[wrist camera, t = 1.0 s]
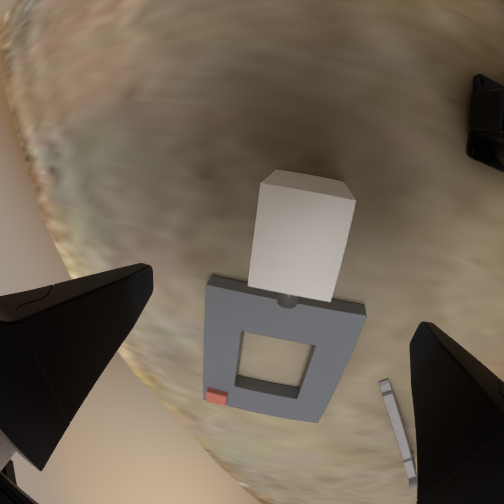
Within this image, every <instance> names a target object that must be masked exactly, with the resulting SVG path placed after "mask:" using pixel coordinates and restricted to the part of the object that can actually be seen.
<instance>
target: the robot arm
mask: <svg viewBox="0 0 504 504" xmlns="http://www.w3.org/2000/svg"><path fill="white" fill-rule="evenodd" d="M479 78H480V79H481V81H482V83H480V81H479ZM469 128H470V131H469V139H468V146H467V154H468V156H469V157H470V158H471V159H474V160H476V161H479V162H481V163H483V164H486V165H488V166H490V167H493V168H495V169H497V170H499V171H501V172H503V173H504V86H502V85H500V84H498V83H497V82H495V81H493V80H491V79H489V78H488V77H486V76H484V75H482V74H477V75H475V76H474V83H473V94H472V95H471V108H470V118H469ZM473 149H474V150H475V154H474V155H473V154H472V150H473ZM152 292H153V269H152V267H151V266H150V265H147V264H143V263H138V264H134V265H130V266H126V267H122V268H117V269H113V270H109V271H105V272H101V273H97V274H93V275H89V276H85V277H81V278H77V279H73V280H69V281H65V282H61V283H57V284H54V286H53V285H49V286H45V287H41V288H37V289H33V290H29V291H24V292H19V293H14V294H9V295H4V296H0V504H38V503H37V502H36V501H34V500H33V499H32V498H31V497H29V496H28V495H27V494H26V493H25V492H24V491H22V490H21V489H20V488H19V487H18V486H17V483H16V478H15V473H14V466H13V461H11V457H12V456H13V455H14V453H15V452H16V451H17V452H18V453H19V454H20V455H21V456H22V457H24V458H25V459H26V460H27V461H28V462H30V463H31V464H32V465H33V466H34V467H36V468H37V469H38V470H39V471H42V470H43V468H44V467H45V465H46V463H47V461H48V460H49V458H50V456H51V454H52V453H53V451H54V449H55V448H56V446H57V444H58V442H59V441H60V439H61V437H62V436H63V434H64V432H65V431H66V429H67V427H68V426H69V424H70V422H71V421H72V419H73V417H74V416H75V414H76V412H77V411H78V409H79V408H80V406H81V405H82V403H83V401H84V400H85V398H86V397H87V395H88V394H89V392H90V391H91V389H92V387H93V386H94V384H95V383H96V381H97V380H98V378H99V377H100V375H101V374H102V372H103V371H104V369H105V368H106V366H107V365H108V363H109V362H110V360H111V359H112V357H113V356H114V354H115V353H116V351H117V350H118V349H119V347H120V346H121V344H122V343H123V341H124V340H125V338H126V337H127V336H128V334H129V333H130V331H131V330H132V328H133V327H134V325H135V323H136V322H137V320H138V318H139V316H140V314H141V313H142V311H143V309H144V307H145V305H146V304H147V302H148V300H149V298H150V296H151V295H152ZM410 367H411V388H412V397H413V406H414V416H415V428H416V443H417V504H504V382H503V381H502V380H501V379H499V378H498V377H497V376H496V375H495V374H494V373H492V372H491V371H490V370H489V369H488V368H487V367H486V366H484V365H483V364H482V363H481V362H480V361H478V360H477V359H476V358H475V357H474V356H473V355H471V354H470V353H469V352H468V351H467V350H465V349H464V348H463V347H462V346H460V345H459V344H458V343H457V342H456V341H454V340H453V339H452V338H451V337H449V336H448V335H447V334H446V333H444V332H443V331H442V330H441V329H439V328H438V327H437V326H436V325H434V324H433V323H431V322H421V323H420V324H419V326H418V328H417V330H416V332H415V334H414V336H413V338H412V340H411V342H410Z"/></svg>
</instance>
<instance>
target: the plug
mask: <svg viewBox="0 0 504 504" xmlns="http://www.w3.org/2000/svg"><path fill="white" fill-rule="evenodd" d="M355 203H356V200H355V198H354V197H353V195H352V194H351V192H350V190H349V189H348V187H347V186H346V184H345V183H344V181H339V180H334V179H329V178H324V177H319V176H314V175H308V174H302V173H297V172H291V171H285V170H278V169H276V170H275V171H274V172H272V173H271V174H270V175H269V176H268V177H267V178H266V179H265V180H263V181H262V182H261V183H260V191H259V199H258V207H257V215H256V222H255V230H254V238H253V246H252V254H251V262H250V270H249V278H248V286H250V287H255V288H260V289H264V290H269V291H274V292H279V294H278V299H277V303H278V305H279V306H281V307H283V308H288V309H291V308H295V307H296V306H297V302H298V298H299V296H300V297H305V298H311V299H316V300H322V301H327V302H331V299H332V295H333V292H334V288H335V285H336V281H337V278H338V274H339V270H340V266H341V263H342V259H343V255H344V251H345V247H346V243H347V239H348V235H349V230H350V226H351V222H352V217H353V213H354V208H355Z"/></svg>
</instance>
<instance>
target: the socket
mask: <svg viewBox="0 0 504 504" xmlns="http://www.w3.org/2000/svg"><path fill="white" fill-rule="evenodd" d="M278 294H279V292H274V291H269V290H264V289H260V288H255V287H250V286H248V283H246V282H241V281H236V280H231V279H226V278H222V277H217V276H212V277H211V278H210V280H209V281H208V283H207V284H206V297H205V324H204V370H203V399H204V400H206V401H208V402H212V403H216V404H219V405H223V406H230V407H234V408H239V409H243V410H247V411H252V412H256V413H261V414H266V415H271V416H276V417H282V418H288V419H294V420H300V421H307V422H314V423H318V422H319V420H320V418H321V416H322V415H323V413H324V411H325V409H326V407H327V405H328V403H329V401H330V399H331V397H332V395H333V393H334V391H335V389H336V387H337V385H338V382H339V380H340V378H341V376H342V374H343V372H344V369H345V367H346V365H347V363H348V360H349V358H350V356H351V354H352V351H353V349H354V347H355V344H356V342H357V339H358V337H359V334H360V332H361V329H362V327H363V324H364V322H365V319H366V316H367V315H366V310H365V306H364V305H362V304H356V303H350V302H345V301H339V300H334V299H331V302H327V301H322V300H316V299H311V298H305V297H300V296H299V298H298V302H297V306H296V307H295V308H291V309H288V308H283V307H281V306H279V305H278V303H277V299H278ZM244 331H245V332H250V333H254V334H259V335H264V336H268V337H273V338H278V339H283V340H289V341H294V342H299V343H305V344H310V345H313V347H312V350H311V353H310V356H309V359H308V362H307V365H306V368H305V371H304V374H303V377H302V380H301V382H300V385H299V388H297V387H291V386H286V385H280V384H275V383H270V382H265V381H261V380H256V379H251V378H247V377H243V376H238V370H239V363H240V355H241V348H242V340H243V332H244Z"/></svg>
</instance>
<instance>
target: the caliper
mask: <svg viewBox="0 0 504 504" xmlns="http://www.w3.org/2000/svg"><path fill="white" fill-rule="evenodd" d="M379 385H380V388H381V391H382V395H383V399H384V402H385V404H386V407H387V410H388V413H389V416H390V419H391V422H392V425H393V428H394V431H395V434H396V437H397V440H398V443H399V446H400V450H401V453H402V456H403V459H404V465H405V468H406V472H407V475H408V478H409V486H410V490H411V489H414V488H417V473H416V465H415V457H414V455H413V451H411V448H410V446H409V442H408V439H407V435H406V432H405V428H404V425H403V421H402V418H401V415H400V411H399V408H398V405H397V402H396V399H395V396H394V393H393V390H392V387H391V385H390V382H389V379H386V380H383V381H380V382H379Z"/></svg>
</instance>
